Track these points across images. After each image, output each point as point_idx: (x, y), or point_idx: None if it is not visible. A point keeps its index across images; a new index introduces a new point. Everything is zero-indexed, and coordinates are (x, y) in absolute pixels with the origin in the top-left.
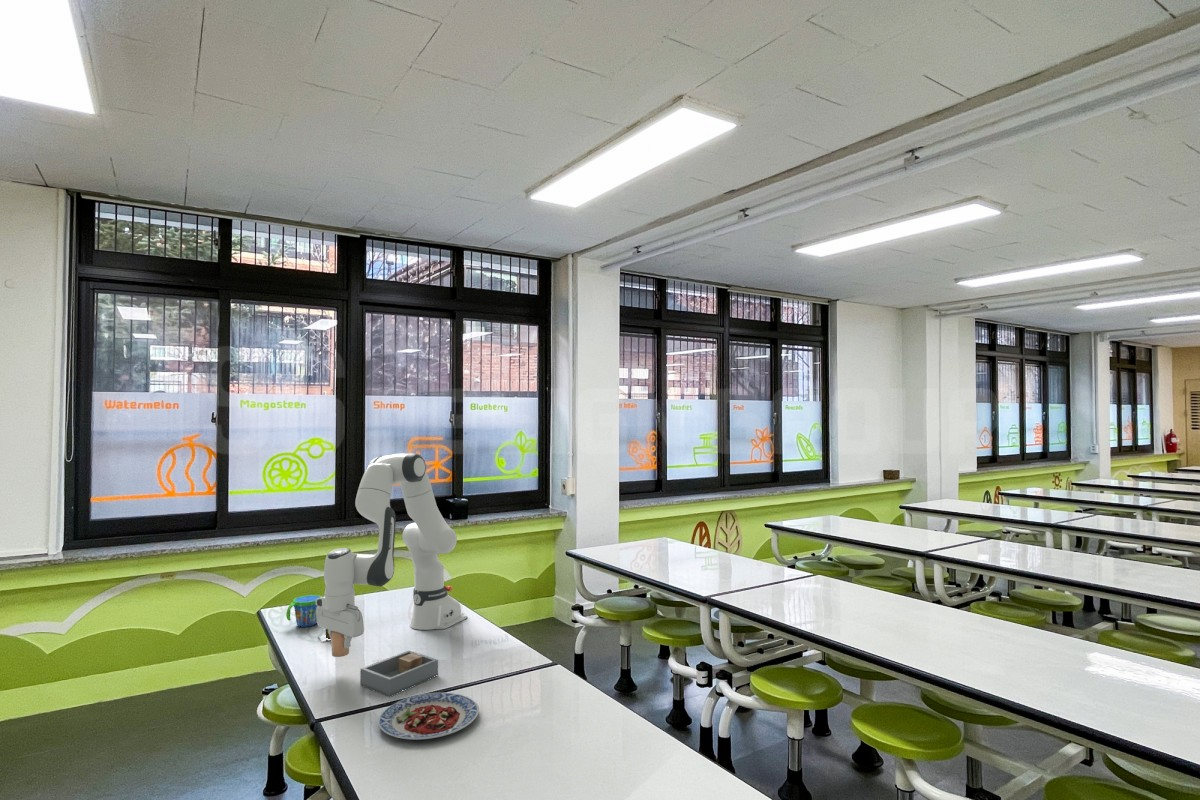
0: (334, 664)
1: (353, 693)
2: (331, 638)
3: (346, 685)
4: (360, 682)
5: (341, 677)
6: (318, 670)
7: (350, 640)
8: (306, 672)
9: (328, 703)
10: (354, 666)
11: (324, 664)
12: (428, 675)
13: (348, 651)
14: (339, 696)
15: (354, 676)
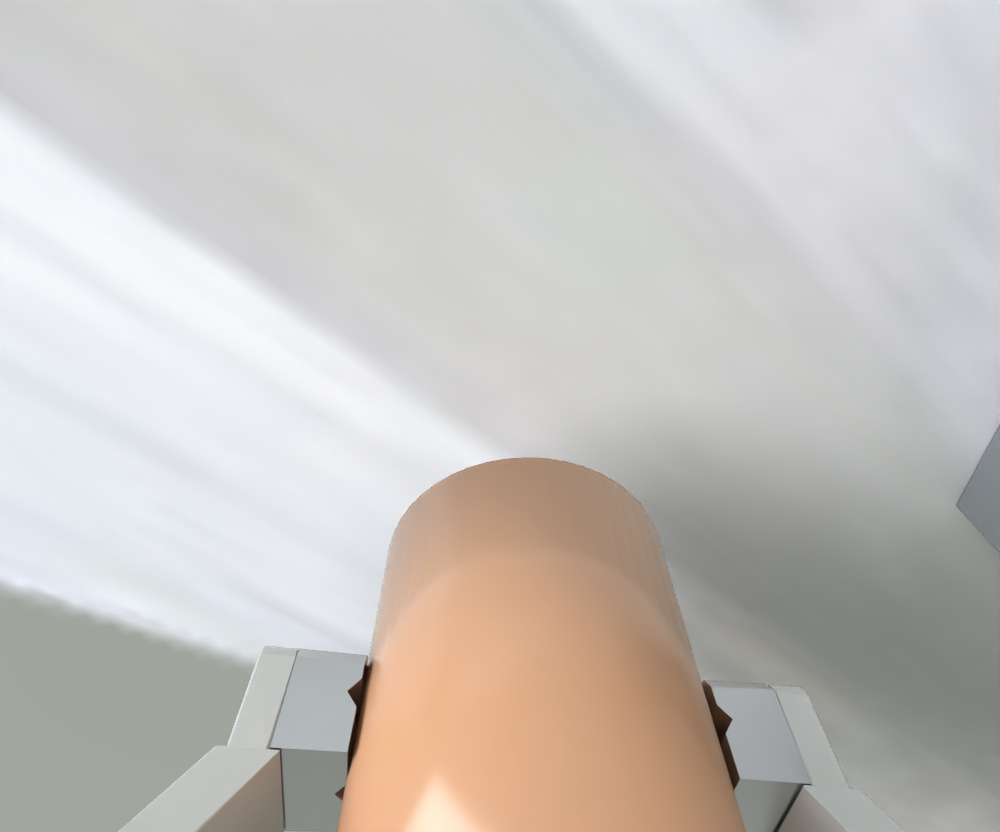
0: (166, 238)
1: (989, 628)
2: (276, 830)
3: (808, 558)
4: (976, 525)
5: (608, 462)
6: (195, 451)
7: (883, 824)
8: (144, 535)
9: (888, 783)
10: (480, 154)
11: (56, 301)
12: None
13: (656, 542)
14: (897, 699)
15: (732, 383)
